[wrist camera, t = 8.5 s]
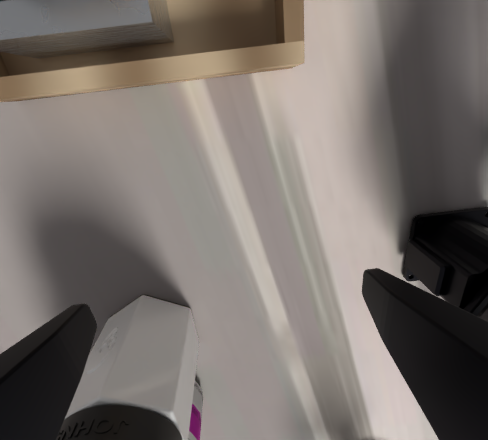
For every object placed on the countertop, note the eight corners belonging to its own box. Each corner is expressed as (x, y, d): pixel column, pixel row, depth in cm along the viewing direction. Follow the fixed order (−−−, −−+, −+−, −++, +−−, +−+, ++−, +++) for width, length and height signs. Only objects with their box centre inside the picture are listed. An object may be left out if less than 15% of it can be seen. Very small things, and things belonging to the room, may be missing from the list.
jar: (159, 279, 24) (102, 431, 13) (217, 331, 27) (210, 490, 16) (90, 327, 26) (-9, 494, 15) (152, 370, 29) (106, 536, 18)
